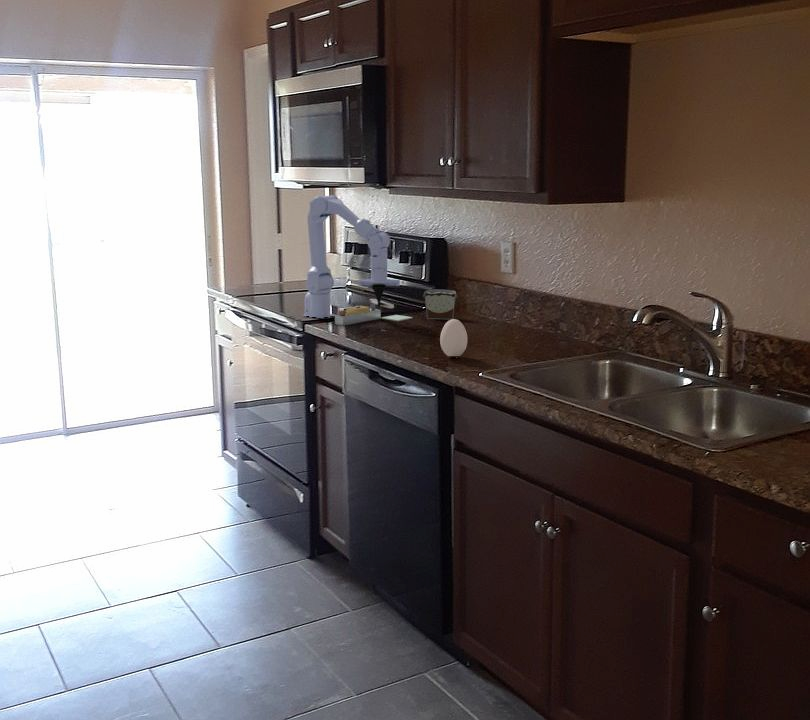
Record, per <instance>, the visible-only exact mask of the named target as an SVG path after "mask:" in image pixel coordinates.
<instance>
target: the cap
mask: <svg viewBox="0 0 810 720" xmlns="http://www.w3.org/2000/svg"><path fill="white" fill-rule="evenodd" d="M370 309H371V306H367V305H366V306H365V305H355V306H349V307H345V313H350V314H362V313H367V312H370Z"/></svg>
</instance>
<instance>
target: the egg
mask: <svg viewBox="0 0 810 720" xmlns="http://www.w3.org/2000/svg"><path fill="white" fill-rule="evenodd" d="M439 341H440V342H439V343H440V348H441V350H442V351H443V353H444V354H445V355H446V356H447V357H449V356H459V357H460V356H461V355H462V354H464V352H465V351H466V349H467V347H468V346H467V345H468V333H467V331H466V328H465V326H464V324H463V323H462V322H461V321H460V320H459V319H455V318H453V319H448V321H447V322H445V324H444V326H443V327H442V330H441V332H440V337H439Z"/></svg>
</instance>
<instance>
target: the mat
mask: <svg viewBox="0 0 810 720" xmlns="http://www.w3.org/2000/svg"><path fill="white" fill-rule="evenodd" d="M381 319H382V320H388V321H394V322H401V321H402V322H403V321H406V320H411V319H413V317H412V316H407V315H398V314H394V315H388V316H382V317H381Z"/></svg>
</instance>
